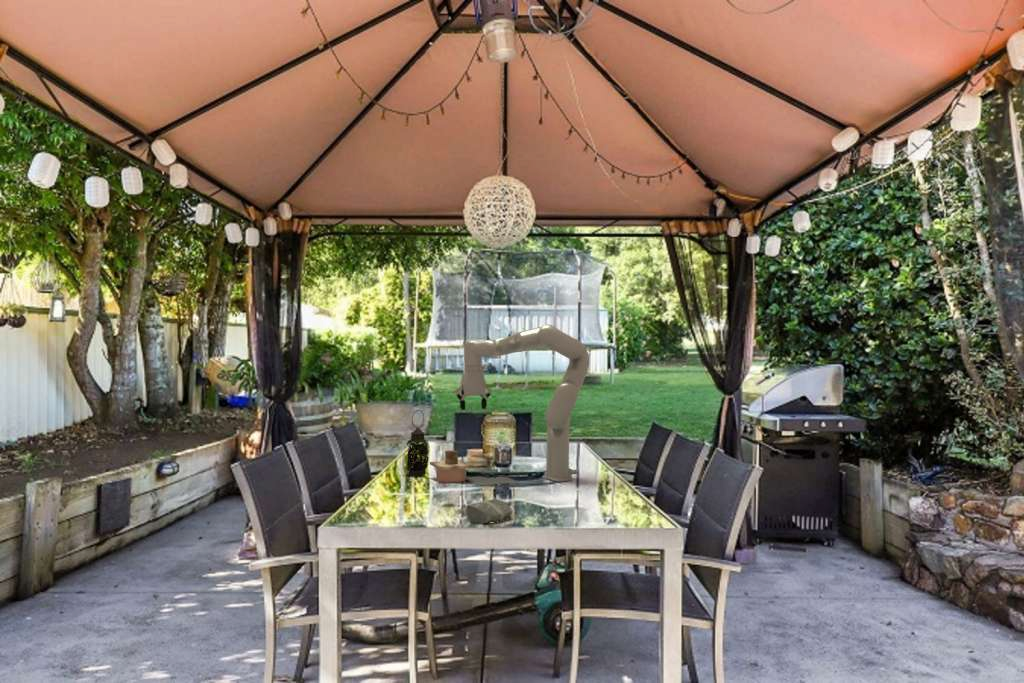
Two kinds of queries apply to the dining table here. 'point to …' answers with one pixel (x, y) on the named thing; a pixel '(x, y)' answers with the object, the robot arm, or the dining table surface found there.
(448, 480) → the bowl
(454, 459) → the lid
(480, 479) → the mat
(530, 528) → the dining table surface
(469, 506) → the decorative stone
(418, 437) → the lantern
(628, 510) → the dining table surface
